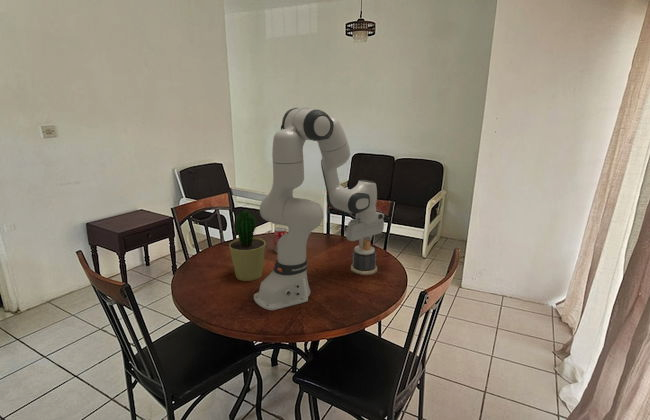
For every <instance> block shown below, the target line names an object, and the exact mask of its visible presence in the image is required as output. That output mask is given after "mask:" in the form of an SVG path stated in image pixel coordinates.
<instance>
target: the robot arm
mask: <svg viewBox="0 0 650 420" xmlns="http://www.w3.org/2000/svg"><path fill="white" fill-rule="evenodd" d="M272 141H273V142H272V150H271V151H272V154H271V155H272V156H271V157H272V170H273V171H272V174H273V175H272V177H273V179H272V180H273V181H272V186H271V190H270V192H269V193H268V194H267V195H266V196H265V197H264V198H263V199H262V200H261V202H260V205H259V215H260V216H261V218H262V219H263V220H265V221H266V222H268V223H272V224H274V225H280V226H286V227H287V228H288V230H287V234H286V235H284V236H282V237H281V238H280V239H279V240H278V242H277V252H276V253H277V254H276V255H277V258H276V261H275V263H274V262H273V261H270V262H268V267H269V268H271V269H273V270H272V271H271V272H270V273H269V274H268V275H267V276H266V277H265V278H264V279H263V280H262V281H261V282H260V285H259V290H258V292H256V293H254V294H253V301H254V302H255V304H257V305H258V306H259V307H261V308H263V309H265V310H266V311H267V310H268V311H276V310H279V309H280V310H281V309H285V308H288V307H292V306H296V305H300V304H303V303H306V302H308V301H309V296H310V295H311V289H310V285H309V281H308V275H307V274H308V273H307V271H308V270H307V269H308V259H307V242H308V238H309V236H310V234H311V233H312V232H313V231H314V230H315V229H317V228H318V227H319V226H320V225H321V223H322V221H323V219H324V210H323V208H322V205H321V203H318V202H316V201H315V200H310V199H306V198H299V197H294V196H293V194H294V190H295V189H297V188H299V187H301V185H302V184H303V183H304V180H305V164H304V163H305V162H304V151H303V150H304V146H305V142H306V141H313V142H317V145H318V148H319V151H320V154H321V160H320V164H321V165H320V167H321V171H322V175H323V180H324V185H325V190H326V202H327V205H328V207H329V208H331V209H333V210H339V211H342V212H345V213H350V214H353V215H354V214H355V218H354V219H350V221H349V222H348V223H347V229H346V235H345V237H346V240H348V241H350V242H355V241H358V244H359V243H360V247H364V246H365V243H363V241H362V240H363V239H366V240H368V241H370V242H371V241H372V238H373V236H375V235H378V234H382V233H383V232H384V227H385V220H384V218H385V214H384V213H382V212H379V211H377V201H378V189H377V183H376V182H374V181H373V180H367V179H360V180H358V182H357V184H356V185H355V186H354V187H353V188H351V189H350V188H346V187H343V185H341V183H340V179H339V173H338V168H340V167H342V166H343V165H345V164H346V163H347V161H349V159H350V156H351V150H350V145H349V143H348V139H347V136H346V133H345V131H344V128H343V126H342V125H341V122H340V121H339V119H337V118H336V117H335V116H330V115H329V114H327V112H325V111H323V110H321V109H315V108H309V107H293V108H290V109H288V110H286V112H285V113H284V114H283V117H282V122H281V125H280V130H278V131H277V132H276V133H274V136H273V140H272Z"/></svg>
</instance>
